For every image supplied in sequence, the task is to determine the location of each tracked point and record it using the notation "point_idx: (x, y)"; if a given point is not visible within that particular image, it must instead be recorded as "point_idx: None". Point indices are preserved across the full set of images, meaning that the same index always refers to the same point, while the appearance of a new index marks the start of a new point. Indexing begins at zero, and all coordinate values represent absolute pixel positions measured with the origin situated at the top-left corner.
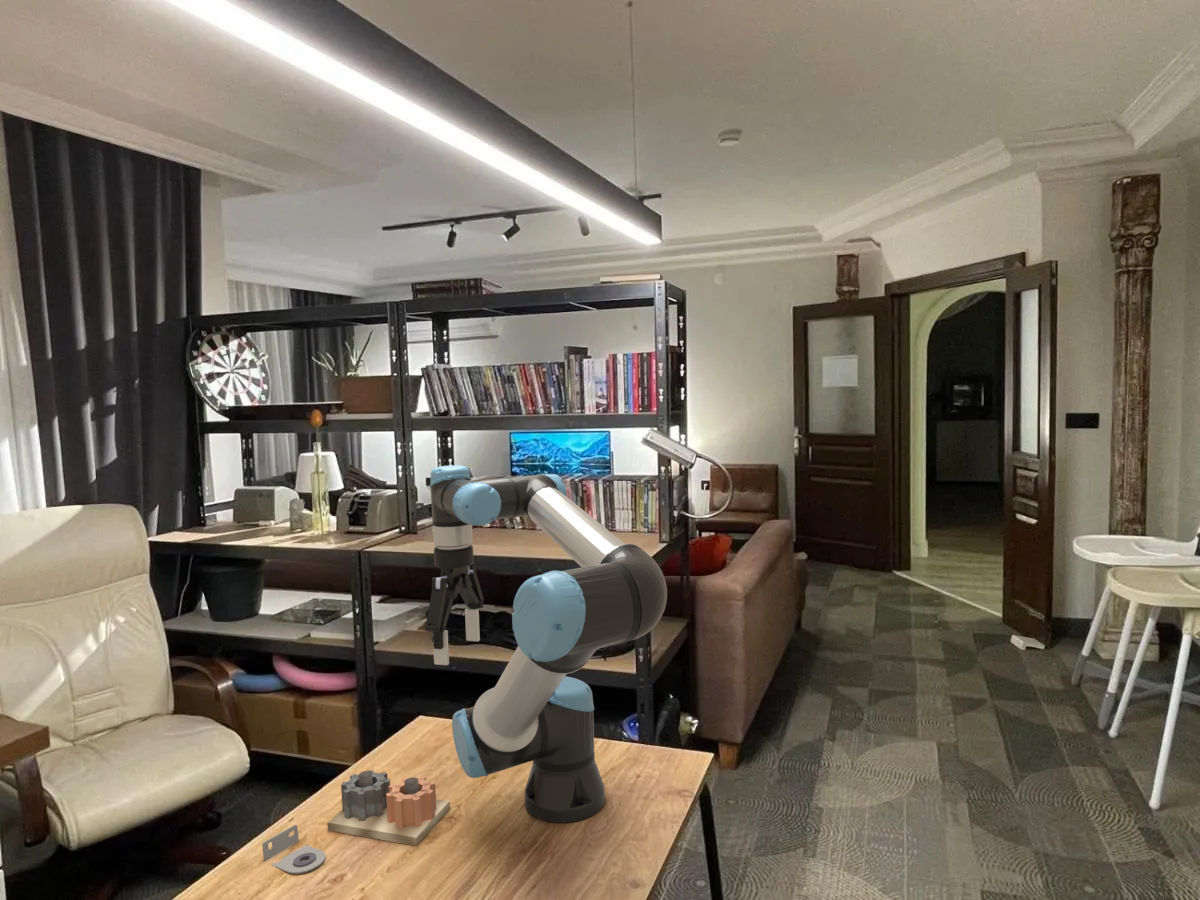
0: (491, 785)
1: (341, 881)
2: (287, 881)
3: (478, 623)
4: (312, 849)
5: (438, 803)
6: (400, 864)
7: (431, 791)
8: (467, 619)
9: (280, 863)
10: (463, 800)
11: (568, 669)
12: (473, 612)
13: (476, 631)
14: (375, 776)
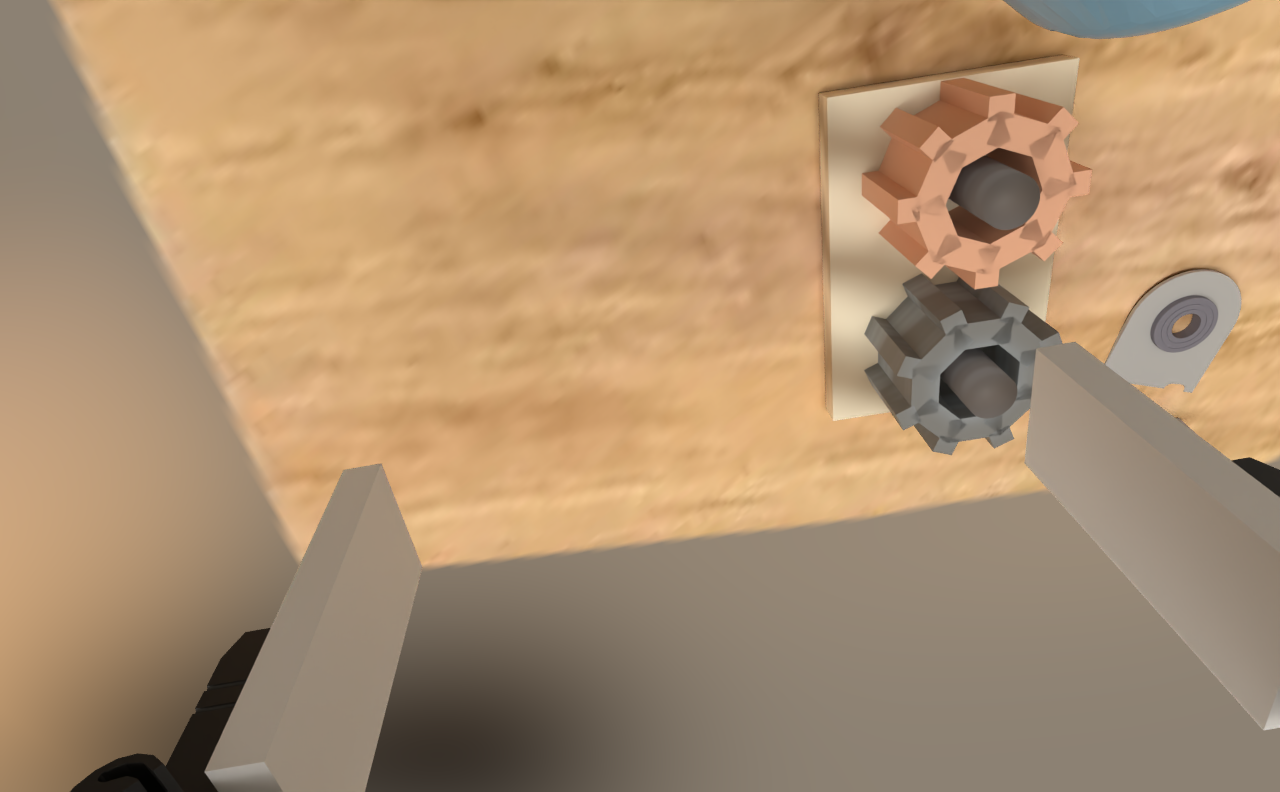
0: (610, 36)
1: (1261, 158)
2: (1263, 299)
3: (302, 599)
4: (1122, 345)
5: (855, 128)
6: (1167, 35)
7: (1001, 98)
8: (365, 733)
9: (1188, 374)
10: (750, 79)
11: None
12: (301, 765)
13: (361, 544)
14: (935, 378)
